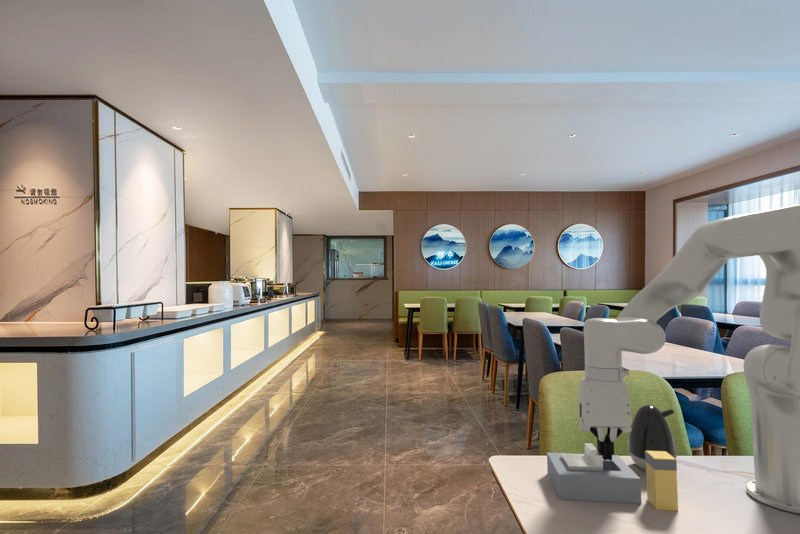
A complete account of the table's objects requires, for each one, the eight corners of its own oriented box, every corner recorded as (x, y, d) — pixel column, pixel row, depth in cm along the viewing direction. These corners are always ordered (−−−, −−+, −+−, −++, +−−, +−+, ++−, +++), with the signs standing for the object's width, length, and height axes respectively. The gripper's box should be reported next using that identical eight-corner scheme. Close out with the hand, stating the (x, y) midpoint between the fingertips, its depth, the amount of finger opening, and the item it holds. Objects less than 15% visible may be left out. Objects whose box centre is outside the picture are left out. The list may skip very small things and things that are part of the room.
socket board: (618, 477, 97) (617, 455, 97) (641, 503, 85) (640, 478, 85) (547, 473, 99) (546, 452, 99) (560, 499, 87) (559, 474, 87)
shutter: (592, 458, 96) (591, 443, 96) (603, 471, 89) (602, 455, 89) (560, 456, 96) (560, 442, 97) (568, 469, 90) (568, 454, 90)
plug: (668, 500, 86) (666, 451, 87) (678, 511, 82) (676, 459, 83) (647, 499, 87) (645, 450, 87) (656, 509, 83) (654, 458, 83)
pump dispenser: (686, 479, 95) (683, 412, 96) (636, 475, 98) (634, 410, 98) (667, 461, 105) (664, 400, 106) (622, 458, 108) (620, 398, 108)
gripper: (632, 371, 96) (634, 452, 95) (564, 370, 98) (566, 449, 97) (646, 378, 88) (649, 466, 87) (573, 376, 90) (575, 463, 89)
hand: (605, 457), depth 92 cm, fingers closed
